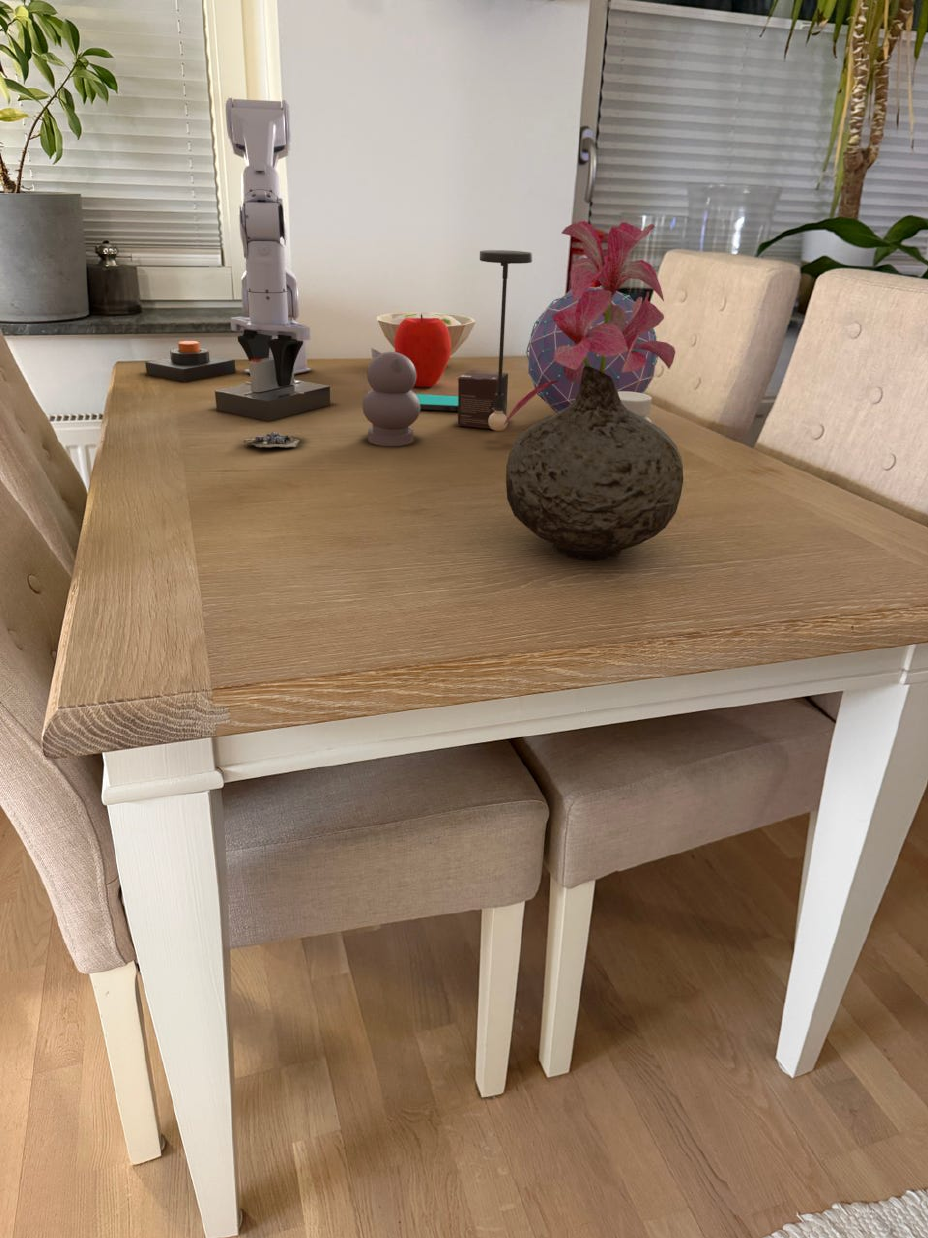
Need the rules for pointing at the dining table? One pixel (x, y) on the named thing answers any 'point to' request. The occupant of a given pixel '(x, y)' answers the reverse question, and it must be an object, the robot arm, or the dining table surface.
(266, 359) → the upright gray tile
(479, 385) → the box
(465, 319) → the bowl
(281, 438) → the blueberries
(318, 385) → the tile base
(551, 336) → the decorative sphere
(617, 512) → the vase
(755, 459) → the dining table surface
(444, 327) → the apple
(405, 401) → the cat figurine
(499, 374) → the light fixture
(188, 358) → the control block
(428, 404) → the smartphone
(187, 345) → the button
